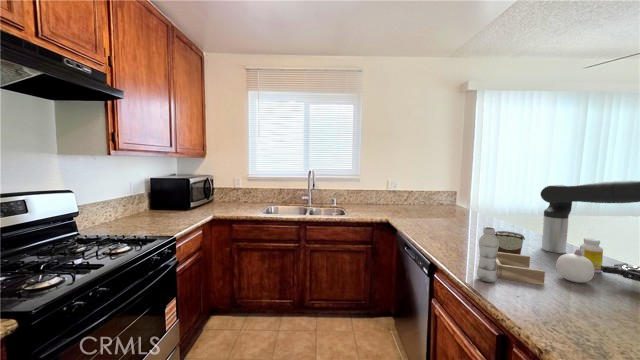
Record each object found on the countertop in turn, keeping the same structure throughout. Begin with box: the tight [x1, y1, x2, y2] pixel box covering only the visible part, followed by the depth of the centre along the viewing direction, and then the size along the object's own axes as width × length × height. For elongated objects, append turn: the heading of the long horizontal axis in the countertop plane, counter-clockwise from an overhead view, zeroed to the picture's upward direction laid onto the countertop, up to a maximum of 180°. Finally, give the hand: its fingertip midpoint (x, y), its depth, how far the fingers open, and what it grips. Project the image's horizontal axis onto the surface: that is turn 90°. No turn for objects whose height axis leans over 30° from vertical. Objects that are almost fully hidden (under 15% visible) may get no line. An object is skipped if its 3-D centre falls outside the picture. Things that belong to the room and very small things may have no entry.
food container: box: [494, 230, 526, 255], centre depth 128 cm, size 12×6×10 cm, turn 58°
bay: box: [496, 252, 546, 286], centre depth 105 cm, size 17×14×5 cm
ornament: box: [555, 249, 596, 284], centre depth 98 cm, size 10×10×12 cm
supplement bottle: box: [579, 237, 604, 274], centre depth 108 cm, size 7×7×13 cm
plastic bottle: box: [476, 226, 499, 283], centre depth 98 cm, size 6×7×20 cm
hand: (602, 268), depth 95 cm, fingers closed
